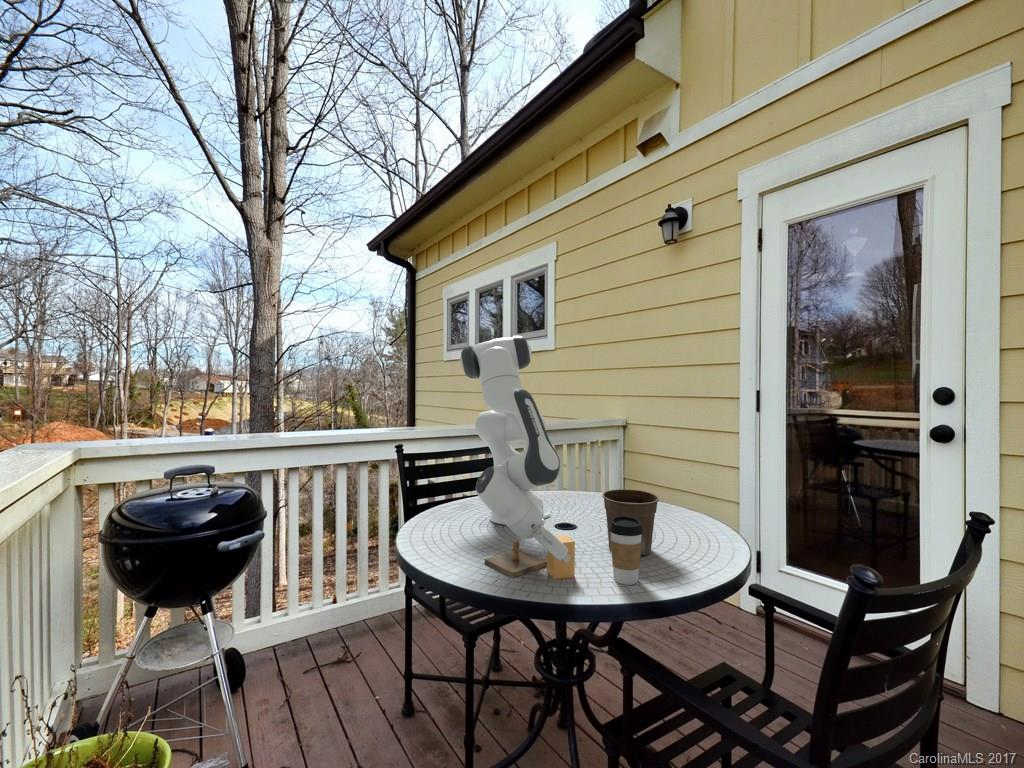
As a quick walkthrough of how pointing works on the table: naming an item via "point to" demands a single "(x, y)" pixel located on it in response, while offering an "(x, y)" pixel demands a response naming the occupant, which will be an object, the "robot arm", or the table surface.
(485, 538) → the table surface
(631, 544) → the coffee cup
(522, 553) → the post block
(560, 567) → the tall orange pillar
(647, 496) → the plant pot
